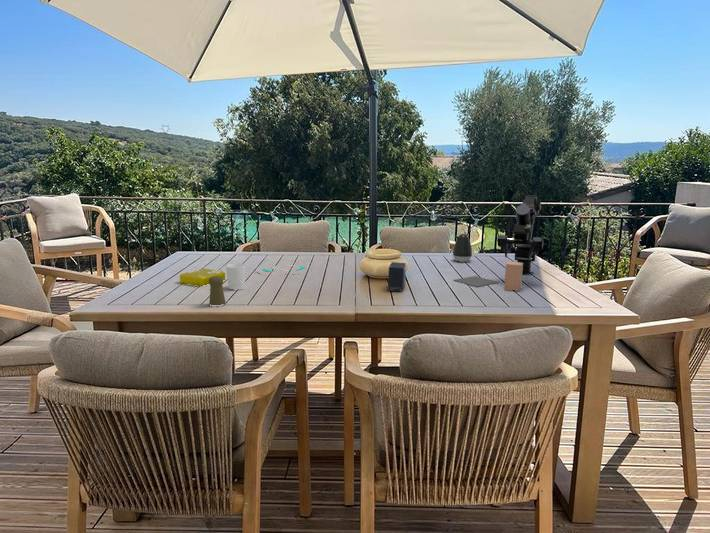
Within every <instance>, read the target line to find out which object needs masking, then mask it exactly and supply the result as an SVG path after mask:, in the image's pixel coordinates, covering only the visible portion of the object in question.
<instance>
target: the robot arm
mask: <svg viewBox="0 0 710 533" xmlns="http://www.w3.org/2000/svg"><path fill="white" fill-rule="evenodd" d="M524 197H525V198H524V199H523V200H522V203H521V204H519V205H518V206H517V207H516V208H515V211H514V212H515V214H514V215H515V217H516V218H515V220H516V224H514V227H513V235H512V238H508V235H505V234H499V235H498V236H497V238H496V242H497V246H498V247H499V248H501V249H502V250H503V252H504V257H505V258H507V257H508V249H509V248H508V246H509V244H514V245H515V244H516V245H517V246H516V247H515V249H514V261H516V262H520V263H523V271H522V275H528V274H529V275H530V274H533V273H534V271H531V268H532V267H531V265H532V263H533V262H536V252H540V251H542V250H543V249H544V248H543V247H544V239H543V237H539V236H534V237H532V235H533V231H534V230H533V229H534V223H535V219H536V218H537V217H538V216H539V213H540V211H541V209H542V203H541V202H542V200H540V199H539V198H538V197H537V195H531V194H529V195H528V194H527V195H525V196H524Z"/></svg>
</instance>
